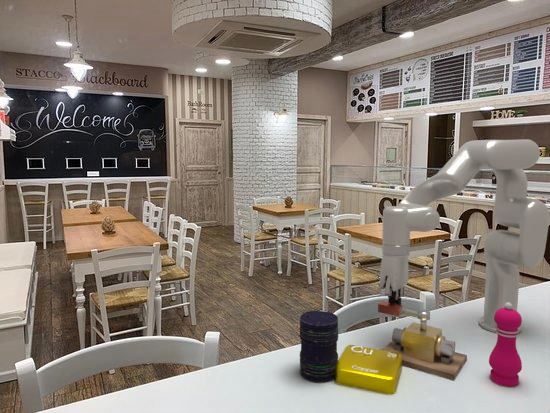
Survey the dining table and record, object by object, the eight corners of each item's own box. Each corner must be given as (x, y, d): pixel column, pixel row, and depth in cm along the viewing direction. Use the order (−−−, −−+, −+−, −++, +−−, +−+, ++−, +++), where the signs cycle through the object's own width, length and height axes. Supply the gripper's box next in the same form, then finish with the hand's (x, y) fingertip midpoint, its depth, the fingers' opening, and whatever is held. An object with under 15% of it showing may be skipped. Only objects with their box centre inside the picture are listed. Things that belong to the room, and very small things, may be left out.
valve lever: (431, 319, 117) (431, 311, 117) (427, 323, 115) (427, 314, 114) (382, 308, 126) (382, 300, 125) (377, 312, 123) (378, 303, 123)
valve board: (395, 341, 129) (395, 337, 129) (466, 360, 117) (467, 355, 117) (378, 358, 119) (378, 353, 119) (454, 380, 107) (454, 374, 107)
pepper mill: (525, 389, 103) (530, 308, 100) (492, 386, 104) (497, 306, 102) (515, 374, 110) (519, 298, 108) (484, 371, 111) (488, 296, 109)
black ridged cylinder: (341, 367, 114) (341, 313, 113) (334, 386, 105) (334, 327, 103) (305, 361, 118) (305, 308, 116) (294, 379, 108) (294, 322, 107)
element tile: (332, 384, 107) (332, 366, 106) (347, 358, 120) (347, 341, 120) (394, 397, 101) (395, 378, 100) (402, 368, 114) (403, 351, 114)
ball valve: (398, 342, 126) (399, 309, 124) (456, 357, 116) (458, 321, 115) (389, 351, 120) (390, 316, 119) (449, 367, 111) (450, 330, 109)
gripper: (394, 243, 132) (393, 301, 134) (371, 252, 120) (370, 315, 122) (418, 246, 127) (417, 306, 129) (397, 256, 115) (395, 322, 118)
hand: (394, 310), depth 126 cm, fingers closed
